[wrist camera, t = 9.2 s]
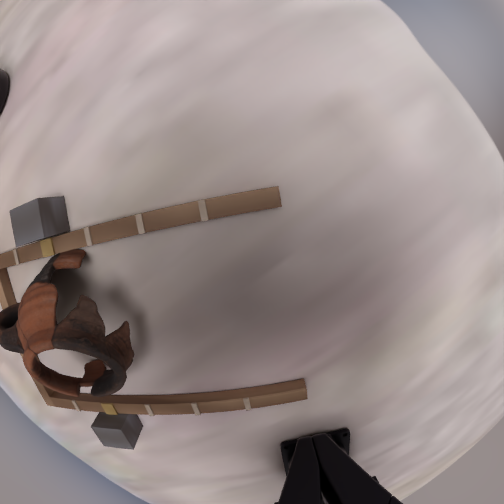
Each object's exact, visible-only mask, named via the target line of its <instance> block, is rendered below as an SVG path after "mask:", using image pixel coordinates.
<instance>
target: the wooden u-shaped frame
mask: <svg viewBox="0 0 504 504" xmlns="http://www.w3.org/2000/svg"><path fill="white" fill-rule="evenodd" d="M276 207H282V205H281V199H280V193H279V187H278V186H277V187H270V188H264V189H258V190H253V191H247V192H241V193H236V194H230V195H225V196H220V197H215V198H210V199H203V200H198V201H195V202H190V203H185V204H181V205H176V206H171V207H167V208H162V209H158V210H154V211H149V212H145V213H139V214H135V215H133V216H129V217H125V218H121V219H117V220H113V221H109V222H105V223H101V224H98V225H94V226H90V227H85V228H83V229H79V230H76V231H72V232H69V233H66V234H62V235H59V236H55V235H58V234H61V233H65V232H68V231H70V228H69V223H68V218H67V212H66V206H65V200H64V196H62V197H47V198H37V199H35V200H32V201H30V202H28V203H25V204H23V205H21V206H19V207H17V208H14V209H12V210H10V216H11V222H12V228H13V234H14V239H15V244H16V247H18V246H21V245H25V244H28V243H32V242H35V241H38V240H41V241H39V242H36V243H33V244H30V245H27V246H24V247H21V248H18V249H14V250H12V251H9V252H6V253H3V254H0V303H1V306H2V309H3V310H4V309H5V308H7V307H9V306H11V305H13V304H16V300H15V297H14V293H13V290H12V287H11V283H10V280H9V276H8V273H7V269H6V267H9V266H13V265H18V264H20V263H24V262H27V261H31V260H35V259H38V258H42V257H43V258H44V257H48V256H51V255H55V254H57V253H61V252H65V251H69V250H73V249H77V248H81V247H85V246H91V245H93V244H98V243H102V242H106V241H110V240H115V239H119V238H123V237H128V236H132V235H137V234H144V233H146V232H151V231H155V230H160V229H165V228H170V227H174V226H179V225H184V224H189V223H194V222H199V221H207V220H210V219H215V218H220V217H225V216H231V215H236V214H242V213H247V212H253V211H259V210H265V209H270V208H276ZM52 236H55V237H52ZM48 237H51V238H48ZM45 238H48V239H45ZM42 239H45V240H42ZM20 354H21V353H20ZM21 356H22V358H23V354H21ZM35 358H36V359H37V360H38V361H39V358H38V356H37V355H36V356H35ZM31 377H32V376H31ZM32 379H33V381H34V382H35V384H36V386H37V388H38V390H39V392H40V393H41V395H42V397H43V399H44V400H45V402H46V404H47V405H49V406H55V407H61V408H68V409H76V410H77V411H81V410H84V411H93V412H99V414H98V415H97V417H96V419H95V420H94V422H93V424H92V425H91V428H92V429H93V431H94V432H95V434H96V435H97V437H98V438H99V440H100V441H101V442H102V444H103V445H104V446H108V447H115V448H124V449H133V450H134V447H135V445H136V442H137V440H138V437H139V435H140V432H141V430H142V427H143V425H142V423H141V422H140V420H139V418H138V416H137V414H147V415H150V416H154V415H169V414H195V415H201V413H212V412H224V411H234V410H243V409H246V411H248V410H251V408H259V407H266V406H272V405H278V404H284V403H290V402H295V401H300V400H305V399H307V389H306V385H305V381H304V379H299V380H294V381H288V382H283V383H277V384H271V385H265V386H258V387H251V388H244V389H236V390H227V391H218V392H207V393H194V394H178V395H108V396H104V397H96V396H95V397H94V396H92V395H91V394H84V393H80V395H79V397H75V396H69V395H66V394H62V393H59V392H57V391H54V390H52V389H49V388H47V387H46V386H44V385H42V384H40V383H39V382H38V381H36V380H35V379H34V378H33V377H32Z"/></svg>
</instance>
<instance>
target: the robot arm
mask: <svg viewBox="0 0 504 504" xmlns="http://www.w3.org/2000/svg"><path fill="white" fill-rule="evenodd" d="M349 444H350V431H349V429H342V430H338V431H334V432H330V433H326V434H325V433H321V434H316V435H313V436H312V437H311V436H307V437H302V438H299V439H297V440H292V441H286V442H283V443H281V445H280V446H281V452H282V457H283V462H284V466H285V471H286V476H287V477H286V481H285V484H284V487H283V490H282V493H281V496H280V499H279V502H275V503H274V504H403V503H401V502H400V501H399V500H398V499H397V498H396V497H394V496H392V494H391V493H389V492H388V491H387V490H386V489H385V488H384V487H382V486H381V485H380V484H379V482H378V480H377V478H376V476H373V477H371V476H370V475H369V474H368V473H367V472H365V471H364V470H363V469H362V468H361V467H360V466H359V465H358V464H357V463H356V462H355V461H354V460H352V459H351V458H350V457H349Z"/></svg>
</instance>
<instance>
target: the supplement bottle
mask: <svg viewBox="0 0 504 504" xmlns="http://www.w3.org/2000/svg"><path fill="white" fill-rule="evenodd" d="M8 87H9V79H8V75H7V73H6V72H5V71H4V70H2V69H0V112H1V110H2V108H3V106H4V103H5V100H6V97H7V93H8Z"/></svg>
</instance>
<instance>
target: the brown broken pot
mask: <svg viewBox="0 0 504 504" xmlns="http://www.w3.org/2000/svg"><path fill="white" fill-rule="evenodd" d="M85 254H86V252H85V251H84V250H79V249H73V250H69V251H65V252H61V253H58V254H56V255H54V256H53V257H52V258H51V259H50V260H49V261H48V263H47V264H46V265H45V266H44V267H43V269H42V271H41V272H40V273H39V274H38V275H37V276H36V277H35V279H34V281H33V282H32V283H31V284H30V285H29V287H28V288H27V290H26V292H25V293H24V295H23V297H22V300H21V302H20V303H16V304H13V305H11V306H9V307H7V308H5V309H4V310H2V311H1V312H0V345H1V346H2V347H3V348H4V349H6V350H9V351H12V352H17V353H21V354H23V362H24V365H25V367H26V369H27V371H28V372H29V374H30V375H31V376H32V377H33V378H34V379H35V380H36V381H38V382H39V383H40V384H42V385H44V386H46V387H47V388H49V389H52V390H54V391H57V392H59V393H62V394H66V395H69V396H75V397H79V395H80V387H83V386H84V387H90V386H92V389H91V395H92V396H94V397H95V396H96V397H104V396H108V395H111V394H113V393H116V392H117V391H119V390H120V389H121V388H122V387H123V385H124V383H125V382H126V378H127V376H126V370H127V369H128V368H129V367H130V365H131V364H132V362H133V357H134V352H133V349H132V347H131V342H130V329H129V323H128V322H127V321H125V322H124V323H123V324H122V326H121V327H120V328H119V329H117V330H115V331H114V332H112V333H110V334H109V335H107V336H106V337H105V325H104V323H103V320H102V318H101V316H100V315H99V313H98V311H97V306H96V303H95V302H94V301H93V300H91V299H90V298H88V297H87V296H85V295H81V296H80V298H79V301H78V303H77V307H76V308H75V309H73V310H72V311H71V312H70V313H69V314H68V316H67V317H66V318H65V319H64V320H62V321H61V322H60V323H59V324H57V321H56V305H57V301H58V293H57V289H56V286H55V285H54V284H51V283H50V281H51V276H52V274H53V272H54V271H55V270H57V269H65V268H80V266H81V263H82V259H83V258H84V256H85ZM55 348H57V349H65V350H73V351H78V352H81V353H84V354H87V355H90V356H93V357H95V358H97V359H99V360H95V361H91V362H88V363H86V364H85V368H84V369H85V374H84V376H83V378H76V377H71V376H66V375H62V374H59V373H57V372H56V371H54V370H52V369H50V368H48V367H46V366H45V365H44V364H42V363H41V362H40V361H38V360H37V359H36V358H35V356H36V355H37V354H39V353H41V352H43V351H46V350H51V349H55ZM103 362H104V363H105V364H107V365H108V366H109V367H110V368H111V370H107V369H106V367H105V365H104V363H103Z"/></svg>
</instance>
